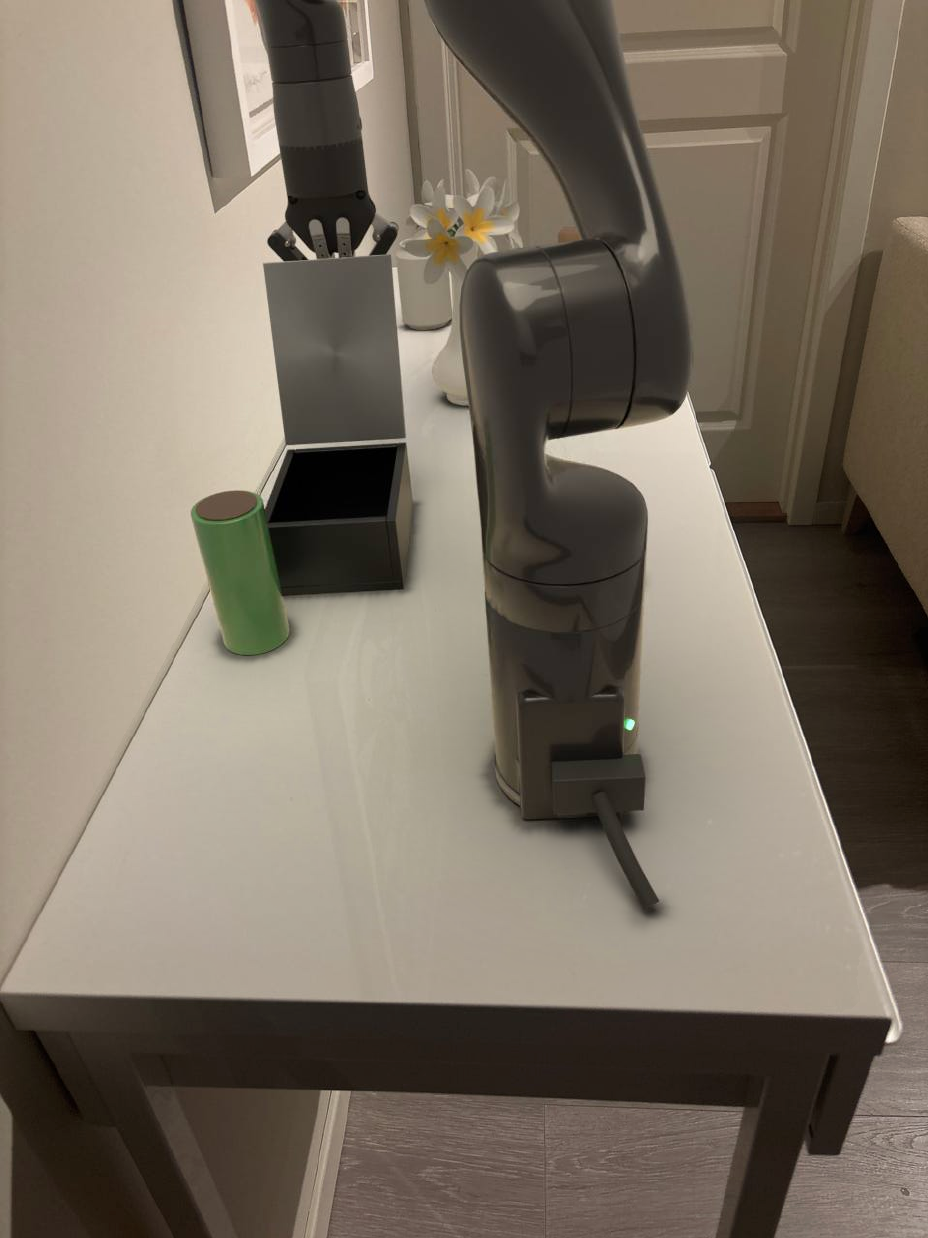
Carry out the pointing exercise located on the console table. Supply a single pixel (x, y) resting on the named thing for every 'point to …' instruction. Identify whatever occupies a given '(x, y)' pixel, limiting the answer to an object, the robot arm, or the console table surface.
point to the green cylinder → (241, 571)
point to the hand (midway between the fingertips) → (346, 326)
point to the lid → (336, 349)
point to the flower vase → (459, 254)
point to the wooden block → (568, 235)
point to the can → (422, 293)
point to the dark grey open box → (341, 518)
